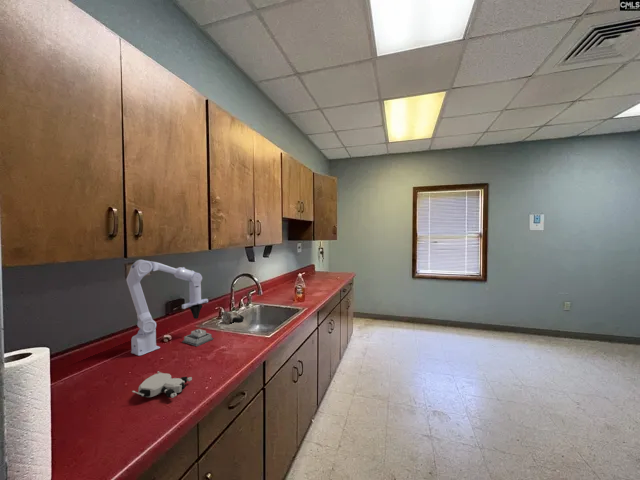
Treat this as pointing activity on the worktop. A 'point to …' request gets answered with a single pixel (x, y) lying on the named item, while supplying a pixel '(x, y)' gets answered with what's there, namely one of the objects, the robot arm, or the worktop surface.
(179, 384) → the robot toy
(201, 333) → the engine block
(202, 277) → the robot arm
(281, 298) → the worktop surface
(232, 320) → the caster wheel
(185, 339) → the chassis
